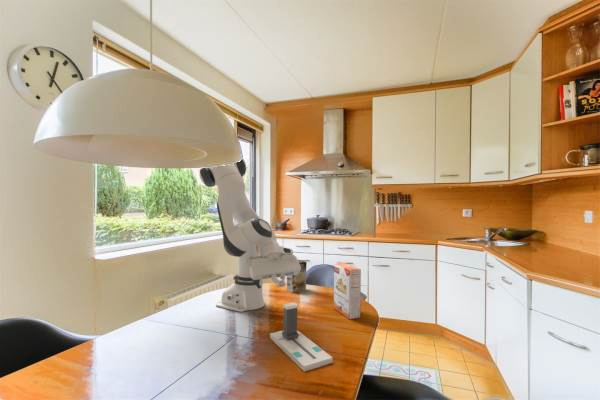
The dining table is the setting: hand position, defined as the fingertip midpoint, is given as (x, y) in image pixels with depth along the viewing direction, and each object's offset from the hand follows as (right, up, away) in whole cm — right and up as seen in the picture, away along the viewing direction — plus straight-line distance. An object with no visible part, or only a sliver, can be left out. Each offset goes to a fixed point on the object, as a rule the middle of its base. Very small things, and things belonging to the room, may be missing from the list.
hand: (281, 286), depth 107 cm
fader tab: (+4, -15, -7) cm, 17 cm away
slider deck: (+6, -17, -12) cm, 22 cm away
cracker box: (+27, -18, +20) cm, 39 cm away
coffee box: (+5, -19, +54) cm, 58 cm away
